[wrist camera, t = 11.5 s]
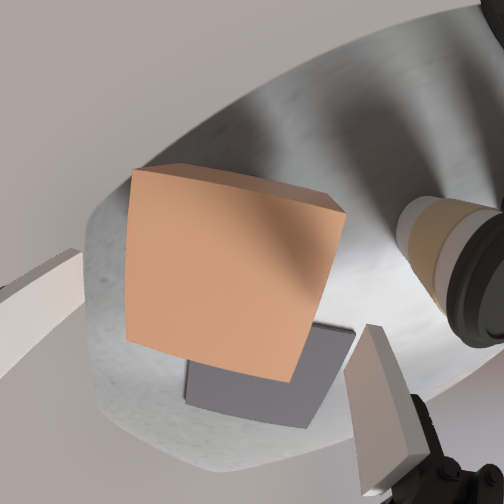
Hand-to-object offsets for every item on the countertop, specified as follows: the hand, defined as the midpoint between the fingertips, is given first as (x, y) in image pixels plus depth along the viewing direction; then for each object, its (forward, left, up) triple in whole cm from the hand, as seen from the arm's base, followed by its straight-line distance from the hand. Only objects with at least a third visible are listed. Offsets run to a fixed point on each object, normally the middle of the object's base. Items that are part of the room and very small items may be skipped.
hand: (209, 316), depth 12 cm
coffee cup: (-17, -4, -16) cm, 24 cm away
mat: (-5, +17, -16) cm, 24 cm away
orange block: (0, 0, -10) cm, 10 cm away
